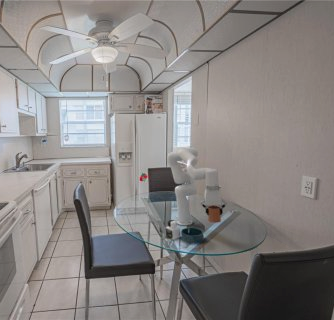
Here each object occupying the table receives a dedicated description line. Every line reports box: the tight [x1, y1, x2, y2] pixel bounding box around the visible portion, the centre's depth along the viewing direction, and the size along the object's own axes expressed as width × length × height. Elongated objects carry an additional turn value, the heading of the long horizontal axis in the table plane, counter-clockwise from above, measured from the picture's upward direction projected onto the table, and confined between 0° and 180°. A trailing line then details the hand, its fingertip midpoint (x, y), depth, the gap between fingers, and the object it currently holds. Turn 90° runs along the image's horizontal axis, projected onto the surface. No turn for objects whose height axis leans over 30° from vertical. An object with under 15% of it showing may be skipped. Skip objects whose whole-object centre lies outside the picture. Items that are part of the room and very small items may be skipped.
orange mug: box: [207, 205, 222, 224], centre depth 141 cm, size 11×7×9 cm
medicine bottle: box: [165, 219, 181, 241], centre depth 151 cm, size 7×7×12 cm
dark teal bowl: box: [180, 227, 205, 244], centre depth 145 cm, size 14×14×6 cm
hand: (214, 214), depth 140 cm, fingers closed on orange mug, 7 cm apart
